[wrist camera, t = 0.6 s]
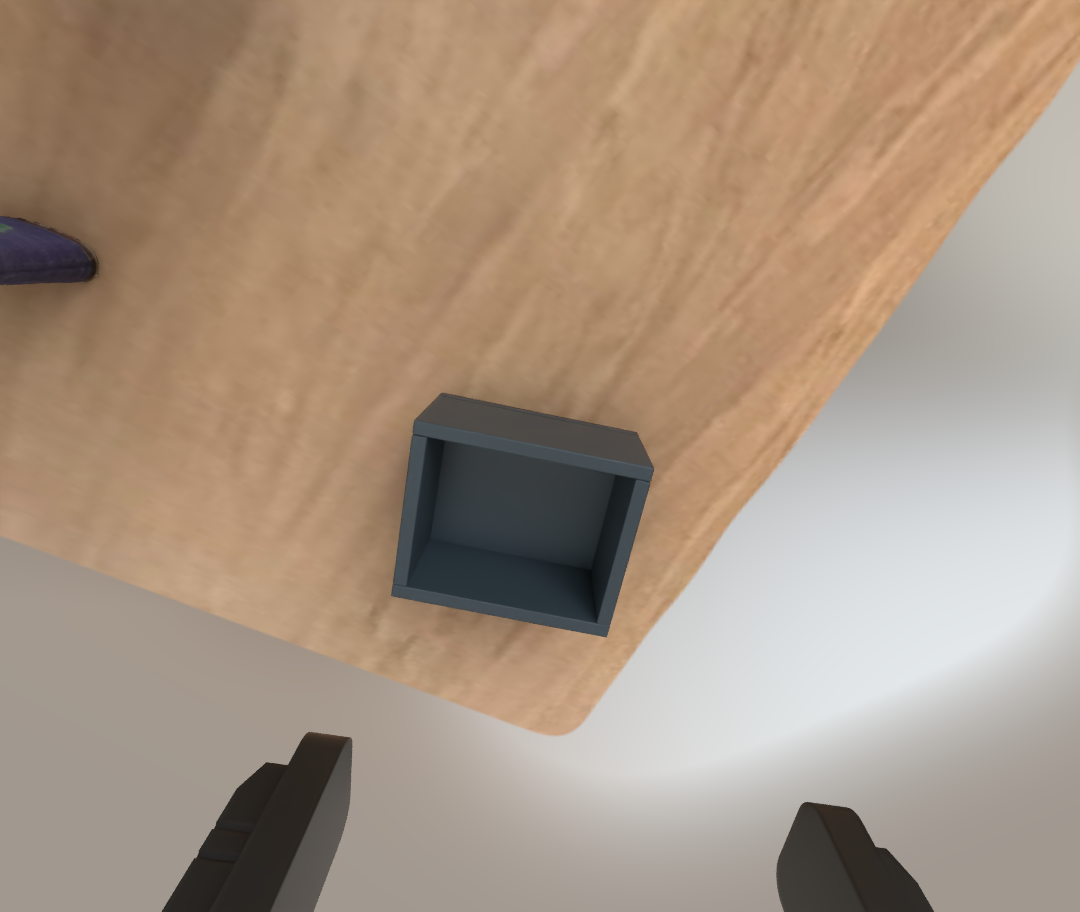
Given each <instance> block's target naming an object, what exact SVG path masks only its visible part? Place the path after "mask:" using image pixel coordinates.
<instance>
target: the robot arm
mask: <svg viewBox="0 0 1080 912" xmlns="http://www.w3.org/2000/svg"><path fill="white" fill-rule="evenodd" d="M351 762H352V739H351V738H350V737H343V736H336V735H329V734H321V733H314V732H308V733H307V734H306V735H305V736H304V738H303V739H302V740H301V742H300V744H299V746H298V748H297V749H296V751H295V753H294V755H293V757H292V759H291V761H290V762H289V764H288V765H282V764H275V763H265V764H264V765H263V766H262V767H261V768H260V769H258V770H257V771H256V772H255V773H254V774H253V775H252V776H251V777H249V778H248V779H247V780H246V781H245V782H244V783H243V784H242V785H240V786H239V787H238V788H237V790H236V791H235V793H234V794H233V796H232V798H231V799H230V801H229V802H228V804H227V806H226V807H225V809H224V811H223V812H222V814H221V815H220V817H219V819H218V821H217V822H216V826H215V828H214V829H212V830H211V832H210V833H209V835H208V837H207V838H206V840H205V842H204V844H203V845H202V847H201V848H200V850H199V854H198V856H197V858H194V860H193V861H192V863H191V865H190V866H189V868H188V870H187V871H186V873H185V875H184V876H183V878H182V879H181V881H180V883H179V884H178V886H177V887H176V889H175V891H174V892H173V894H172V896H171V897H170V899H169V901H168V902H167V904H166V905H165V907H164V909H163V910H162V912H314V909H315V906H316V903H317V901H318V898H319V896H320V893H321V891H322V887H323V885H324V882H325V880H326V877H327V875H328V872H329V869H330V867H331V864H332V861H333V859H334V856H335V853H336V851H337V848H338V845H339V842H340V840H341V837H342V834H343V831H344V827H345V823H346V819H347V815H348V810H349V804H350V789H351V765H352V763H351ZM777 886H778V892H779V897H780V901H781V904H782V907H783V910H784V912H934V911H933V909H932V907H931V906H930V904H929V902H928V900H927V899H926V897H925V895H924V894H923V892H922V890H921V888H920V887H919V885H918V883H917V882H916V881H915V880H914V879H913V878H912V876H911V875H910V874H909V873H908V872H907V871H906V870H905V869H904V868H903V866H902V865H901V864H900V863H899V862H898V861H897V860H896V859H895V858H894V856H893V855H892V854H891V853H890V852H889V851H888V850H887V849H885V848H878V847H875V845H874V843H873V841H872V839H871V837H870V836H869V834H868V832H867V830H866V828H865V826H864V825H863V823H862V821H861V819H860V818H859V816H858V815H857V814H856V813H855V812H854V811H853V810H852V809H850V808H847V807H840V806H832V805H826V804H818V803H811V802H805V803H803V804H802V805H801V806H800V808H799V811H798V813H797V815H796V818H795V820H794V822H793V825H792V827H791V830H790V832H789V835H788V837H787V839H786V842H785V844H784V847H783V849H782V851H781V853H780V856H779V859H778V863H777Z"/></svg>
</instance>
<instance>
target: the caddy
mask: <svg viewBox="0 0 1080 912" xmlns="http://www.w3.org/2000/svg"><path fill="white" fill-rule="evenodd" d="M653 472H654V467H653V465H652V463H651V461H650V459H649V457H648V455H647V453H646V451H645V448H644V446H643V444H642V442H641V440H640V438H639V436H638V433H637V432H632V431H627V430H622V429H618V428H613V427H608V426H603V425H598V424H593V423H588V422H583V421H578V420H573V419H568V418H563V417H558V416H553V415H549V414H544V413H539V412H534V411H529V410H524V409H519V408H514V407H509V406H504V405H499V404H494V403H489V402H485V401H480V400H475V399H470V398H465V397H460V396H455V395H450V394H445V393H441V394H440V395H439V396H438V397H437V398H436V399H435V400H434V401H433V402H432V403H431V404H430V405H429V406H428V407H427V408H426V409H425V410H424V411H423V412H422V413H421V414H420V415H419V416H418V417H417V418H416V419H415V421H414V426H413V435H412V441H411V448H410V456H409V464H408V472H407V479H406V487H405V495H404V502H403V510H402V518H401V526H400V533H399V541H398V549H397V556H396V564H395V572H394V579H393V586H392V594H391V596H394V597H399V598H404V599H409V600H414V601H420V602H425V603H430V604H435V605H441V606H446V607H451V608H456V609H461V610H467V611H472V612H477V613H482V614H487V615H493V616H498V617H503V618H508V619H514V620H519V621H524V622H529V623H534V624H540V625H545V626H550V627H555V628H561V629H566V630H571V631H576V632H581V633H587V634H592V635H597V636H602V637H607V635H608V631H609V628H610V624H611V620H612V617H613V613H614V610H615V606H616V603H617V599H618V596H619V592H620V589H621V585H622V582H623V578H624V575H625V571H626V568H627V564H628V561H629V557H630V554H631V550H632V546H633V543H634V539H635V536H636V532H637V529H638V525H639V522H640V518H641V515H642V511H643V508H644V504H645V501H646V497H647V494H648V490H649V487H650V481H651V479H652V475H653Z"/></svg>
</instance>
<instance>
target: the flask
mask: <svg viewBox="0 0 1080 912" xmlns="http://www.w3.org/2000/svg"><path fill="white" fill-rule="evenodd" d="M97 270H98V261H97V259H96V256H95V253H94V252H93V251H92V250H91V249H90V248H89V247H88V246H87V245H86V244H83V243H81V242H80V241H79V240H77V239H75V238H74V237H72V236H69V235H67V234H64V233H61V232H59V231H58V230H55V229H53V228H51V227H50V228H48V227H46V226H44V225H43V224H42V225H40V224H39V223H36V222H30V221H27V220H25V219H21V218H10V217H6V216H0V285H4V284H6V285H15V284H36V283H73V282H80V283H85V282H88V281H89V280H92V279H93V278H94V277H98V275H97Z"/></svg>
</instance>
